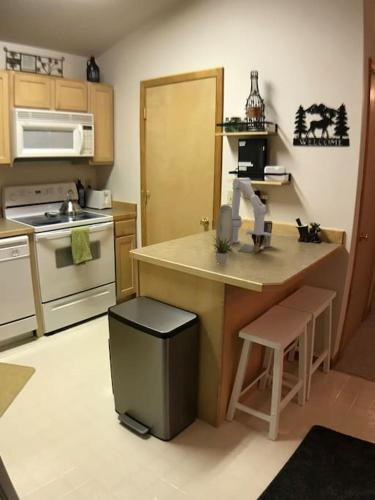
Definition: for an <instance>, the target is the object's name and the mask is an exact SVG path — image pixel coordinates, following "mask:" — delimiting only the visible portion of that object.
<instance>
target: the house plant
mask: <svg viewBox="0 0 375 500" xmlns="http://www.w3.org/2000/svg"><path fill="white" fill-rule="evenodd" d="M210 236H211V237H212V235H210ZM217 238H218V240H219V242H218V241H217V240H216V238H215V237H213V238H212V241H213V242H214V243H213V244H212V246H213V247H214V249H213V250H216V251H215V262H216V264H217V263H219V264H218V265H226V264H227V261H228V257H229V250H230V248H231V247H232V245H231V246H230V245H227V243H228V242H229V241H230V240H231V239H232V238H231V239H230V240H229V241H227V242H226V238H225V241H224V243H223V241H220V238H219V236H217ZM233 238H234V237H233ZM222 240H224V239H222ZM216 241H217V243H218V245H219V247H220V248H219V247H218V245H217V243H216ZM225 242H226V243H225ZM228 246H230V248H229V247H228ZM227 247H228V248H227ZM225 263H226V264H225Z"/></svg>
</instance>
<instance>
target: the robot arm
mask: <svg viewBox="0 0 375 500" xmlns="http://www.w3.org/2000/svg"><path fill="white" fill-rule="evenodd" d="M243 191H245V192H246V194H247V196H248V197H249V202H250V204H251V206H252V208H253V209H252V212H253V217H254V226H253V230H246V235H251V236H250V237H251V239H252V242H253V245H255V244H256V239H257V235H260V245H259V248H261V245H262V242H263V240H264V238H265V236H268V237H270V236H271V237H272V233H267V232H263V231H264V221H265V216H266V214H267V213H268V208H267V205H266V204H264V203H262V201H261V199H260V197H259V196H258V195H256V194H255V191H254V189H253V187H252V180H251V178H250V177H235V178H234V179H233V181H232V198H231V206H230V207H231V209H232V218H233V237H234V238H233V241H232V244H233V243H234V244H237V243H239V242H240V239H239V230H240V228H241V226H242V217H241V215H239V213H240V205H241V198H242V197H241V195H242V192H243Z"/></svg>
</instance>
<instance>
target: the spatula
mask: <svg viewBox="0 0 375 500" xmlns="http://www.w3.org/2000/svg"><path fill="white" fill-rule="evenodd" d="M253 245H254V244H253ZM259 245H260V244H258V243H256V244H255V245H254V246H253V251H252V252H253V253H258V252H259V251H260V250H263V249H264V248H265V247H264V246H261V248H259Z"/></svg>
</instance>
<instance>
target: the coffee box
mask: <svg viewBox="0 0 375 500" xmlns="http://www.w3.org/2000/svg"><path fill="white" fill-rule="evenodd" d="M263 232H267V233H271V234H272V232H273V221H272V220H264V231H263ZM271 240H272V235H271V236H270V237H268V236H265V238H264V240H263V242H262V245H261V246H264V248H271ZM256 243H258V244H260V235H257V239H256Z"/></svg>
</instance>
